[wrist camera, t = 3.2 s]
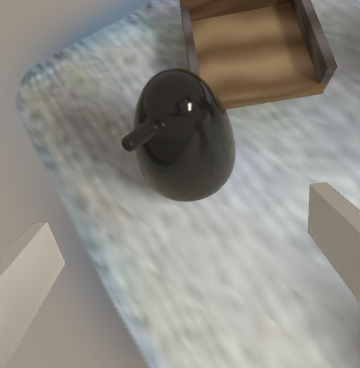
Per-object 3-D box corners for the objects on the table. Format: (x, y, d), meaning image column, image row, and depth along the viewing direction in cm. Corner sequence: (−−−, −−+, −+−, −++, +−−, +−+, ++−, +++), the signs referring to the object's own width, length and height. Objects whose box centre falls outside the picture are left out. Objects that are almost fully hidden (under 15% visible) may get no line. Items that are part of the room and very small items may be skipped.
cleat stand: (322, 93, 34) (363, 21, 24) (196, 114, 35) (189, 53, 26) (291, 9, 39) (315, -77, 30) (183, 29, 40) (173, -47, 31)
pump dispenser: (130, 179, 33) (67, 101, 19) (183, 119, 35) (162, 8, 21) (196, 230, 30) (178, 183, 16) (250, 161, 32) (278, 64, 18)
